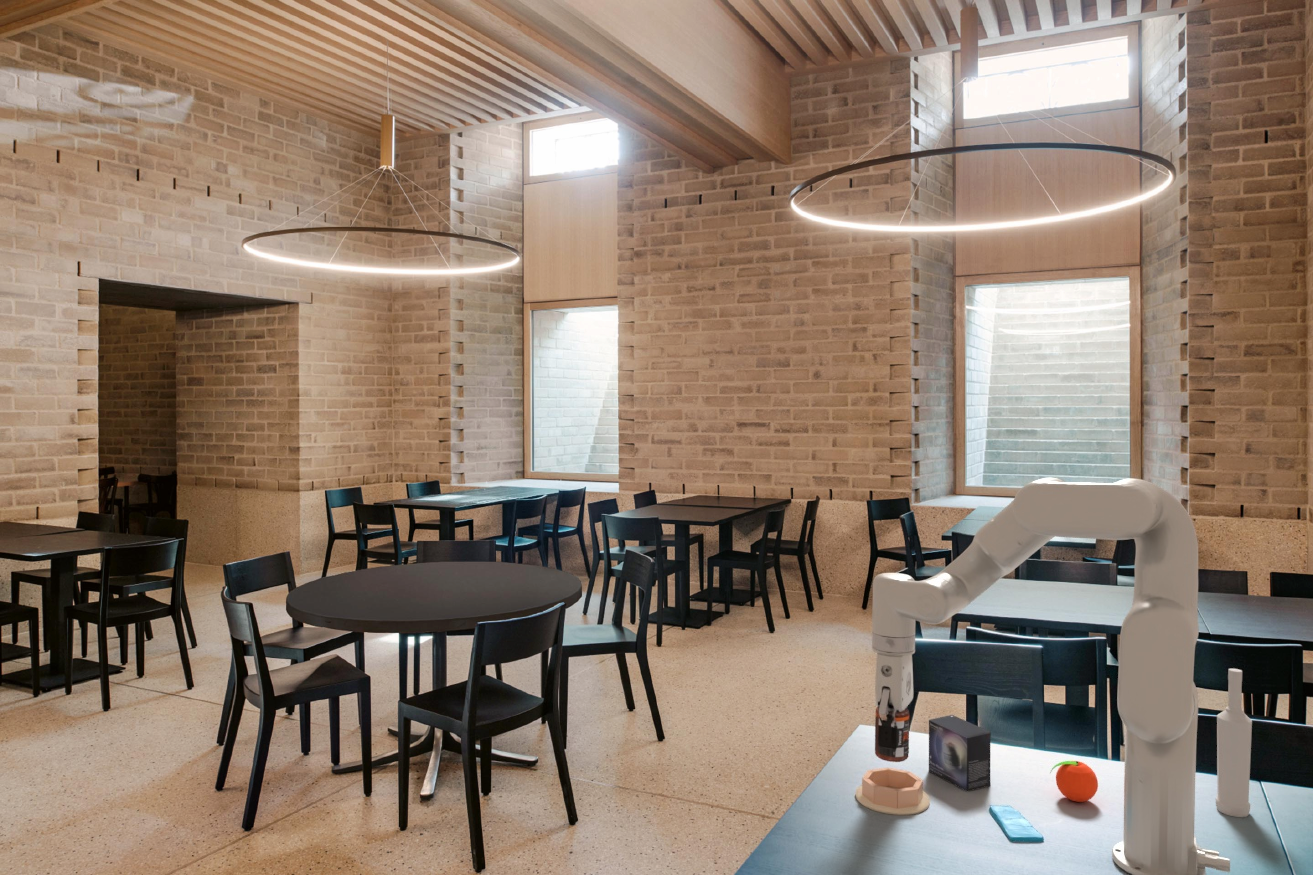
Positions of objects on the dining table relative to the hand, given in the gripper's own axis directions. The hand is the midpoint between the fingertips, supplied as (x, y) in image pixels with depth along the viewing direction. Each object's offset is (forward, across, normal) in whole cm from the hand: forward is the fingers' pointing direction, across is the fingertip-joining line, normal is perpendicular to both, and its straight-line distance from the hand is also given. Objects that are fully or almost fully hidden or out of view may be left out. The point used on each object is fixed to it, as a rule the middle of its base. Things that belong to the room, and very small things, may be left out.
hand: (892, 740), depth 163 cm
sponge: (+11, 0, -21) cm, 24 cm away
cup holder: (+11, 0, 0) cm, 11 cm away
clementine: (+11, +15, -29) cm, 35 cm away
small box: (+11, +15, -9) cm, 21 cm away
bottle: (+11, +23, -54) cm, 60 cm away
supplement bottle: (+3, 0, 0) cm, 3 cm away
